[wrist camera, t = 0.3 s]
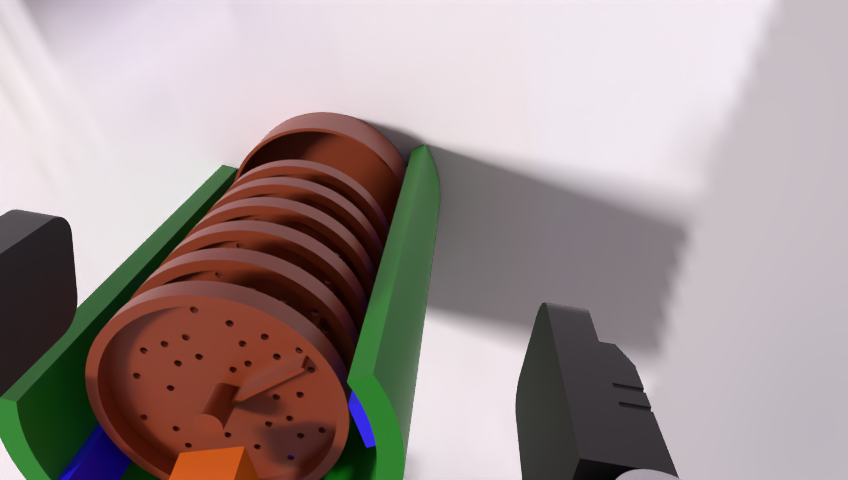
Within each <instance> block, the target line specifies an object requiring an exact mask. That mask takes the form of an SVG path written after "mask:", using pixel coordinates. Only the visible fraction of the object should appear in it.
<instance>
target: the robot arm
mask: <svg viewBox="0 0 848 480" xmlns="http://www.w3.org/2000/svg"><path fill="white" fill-rule="evenodd" d="M76 309H77V286H76V275H75V264H74V252H73V241H72V232H71V228H70V225H69V223H68V222H67V220H66V219H64V218H62V217H58V216H52V215H46V214H41V213H35V212H29V211H23V210H16V209H15V210H11V211H9V212H7V213H5V214H3V215H2V216H0V397H1V396H2V395H3V394H4V393H5V392H7V391H8V390H9V389H10V388H11V387H12V386H13V385H14V384H15V383H16V382H17V381H18V380H19V379H20V378H21V377H22V376H23V375H24V374H25V373H26V372H27V371H28V370H29V369H30V368H31V367H32V366H33V365H34V364H35V363H36V362H37V361H38V360H39V359H40V358H41V357H42V356H43V355H44V354H45V353H46V352H47V351H48V350H49V349H50V348H51V347H52V346H53V345H54V344H55V343H56V342H57V341H58V340H59V339H60V338H61V337H63V335H64V334H65V333H66V332H67V331H68V329H69V328H70V326H71V324H72V322H73V319H74V316H75V313H76ZM643 389H644V388H643V385H642V383H641V380H640V377H639V375H638V372H637V370H636V367H635V365H634V364H633V363H632V362H631V361H630V360H629V359H628V358H627V357H626V356H625V355H624V354H623V352H622V351H621V350H620V349H619V348H618V347H617V346H616V345H615V344H610V343H604V342H599V341H598V338H597V335H596V332H595V329H594V326H593V323H592V319H591V316H590V314H589V312H588V310H585V309H579V308H573V307H568V306H562V305H556V304H550V303H543V304H542V305H541V306H540V308H539V311H538V314H537V317H536V320H535V324H534V327H533V331H532V334H531V338H530V341H529V345H528V348H527V352H526V355H525V359H524V362H523V366H522V369H521V373H520V377H519V381H518V386H517V393H516V422H517V432H518V441H519V451H520V461H521V471H522V480H681V479H679V477H678V475H677V472H676V470H675V467H674V464H673V462H672V459H671V457H670V454H669V452H668V449H667V446H666V444H665V442H664V439H663V436H662V434H661V431H660V429H659V426H658V423H657V421H656V418H655V416H654V413H653V412H651V406H650V403H649V400H648V398H647V395H646V393H644V392H643Z"/></svg>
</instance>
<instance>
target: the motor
mask: <svg viewBox="0 0 848 480" xmlns="http://www.w3.org/2000/svg"><path fill="white" fill-rule="evenodd" d="M236 171H237V169H236V168H232V167H228V166H224V165H222V166H221V167H220V168H219V169H218V170H217V171H216V172H215V173H214V174H213V175H212V176H211V177H210V178H209V179H208V180H207V181H206V182H205V183H204V184H203V185H202V186H201V187H200V188H199V189H198V190H197V191H196V192H195V193H194V194H193V195H192V196H191V197H190V198H189V199H188V200H187V201H186V202H185V203H184V204H182V205H181V206H180V207H179V208H178V209H177V210H176V211H175V212H174V213H173V214H172V215H171V216H170V217H169V218H168V219H167V220H166V221H165V222H164V223H163V224H162V225H161V226H160V227H159V228H158V229H157V230H156V231H155V232H154V233H153V234H152V235H151V236H150V237H149V238H148V239H147V240H146V241H145V242H144V243H143V244H142V245H141V246H140V247H139V248H138V249H137V250H136V251H135V252H134V253H133V254H132V255H131V256H130V257H129V258H128V259H127V260H126V261H125V262H124V263H123V264H122V265H121V266H120V267H119V268H118V269H117V270H116V271H114V272H113V273H112V274H111V275H110V276H109V277H108V278H107V279H106V280H105V281H104V282H103V283H102V284H101V285H100V286H99V287H98V288H97V289H96V290H95V291H94V292H93V293H92V294H91V295H90V296H89V297H88V298H87V299H86V300H85V301H84V302H83V303H82V304H81V305H80V306H79V307H78V308H77V309H76V313H75V316H74V319H73V322H72V324H71V326H70V328H69V329H68V331H67V332H66V333H65V334H64V335H63V337H61V338H60V339H59V340H58V341H57V342H56V343H55V344H54V345H53V346H52V347H51V348H50V349H49V350H48V351H47V352H46V353H45V354H44V355H43V356H42V357H41V358H40V359H39V360H38V361H37V362H36V363H35V364H34V365H33V366H32V367H31V368H30V369H29V370H28V371H27V372H26V373H25V374H24V375H23V376H22V377H21V378H20V379H19V380H18V381H17V382H16V383H15V384H14V385H13V386H12V387H11V388H10V389H9V390H8V391H7V392H5V393H4V394H3V395H2V396H1V397H0V438H1V440H2V442H3V444H4V446H5V448H6V450H7V452H8V453H9V455H10V457H11V459H12V460H13V462H14V463H15V465H16V466H17V468H18V469H19V470H20V472H21V473H22V474H23V476H24V477H25V478H26V480H403V475H404V468H405V460H406V453H407V445H408V438H409V431H410V423H411V416H412V408H413V401H414V393H415V386H416V379H417V371H418V364H419V356H420V349H421V342H422V334H423V327H424V319H425V312H426V305H427V297H428V290H429V282H430V275H431V267H432V260H433V253H434V245H435V238H436V230H437V223H438V216H439V208H440V184H439V178H438V173H437V169H436V166H435V163H434V160H433V158H432V155H431V153H430V151H429V149H428V147H427V145H426V144H425V145H423V146H420V147H418V148H416V149H413V150H412V153H411V156H410V160H409V163H408V167H407V166H406V164H405V162H404V160H403V158H402V157H401V155H400V154H399V152H398V151H397V149H396V148H395V147H394V146H393V144H392V143H391V142H390V141H389V140H388V139H387V138H386V137H385V136H384V135H382V134H381V133H380V132H379V131H377V130H376V129H374V128H373V127H371V126H370V125H368V124H366V123H364V122H362V121H360V120H358V119H355V118H352V117H349V116H346V115H342V114H337V113H327V112H318V113H309V114H304V115H300V116H297V117H294V118H291V119H289V120H287V121H285V122H283V123H281V124H280V125H278V126H277V127H275V128H274V129H273V130H272V131H271V132H270V133H269V134H267V135H266V137H265V138H264V139H263V140H262V141H261V142H260V143H259V144H258V145H257V146H256V147H255V148H254V149H253V150H252V151H251V152H250V153H249V155H248V156H247V157H246V158H245V160H244V161H243V163H242V164H241V166H240V168H239V170H238V172H237V175H236Z"/></svg>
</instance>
